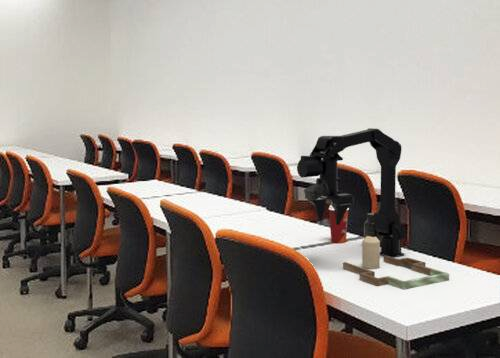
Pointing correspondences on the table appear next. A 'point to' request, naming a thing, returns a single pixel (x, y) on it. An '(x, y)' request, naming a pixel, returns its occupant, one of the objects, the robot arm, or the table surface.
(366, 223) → the supplement bottle
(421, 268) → the trap lane
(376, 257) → the candle
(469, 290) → the table surface
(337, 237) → the paper cup
